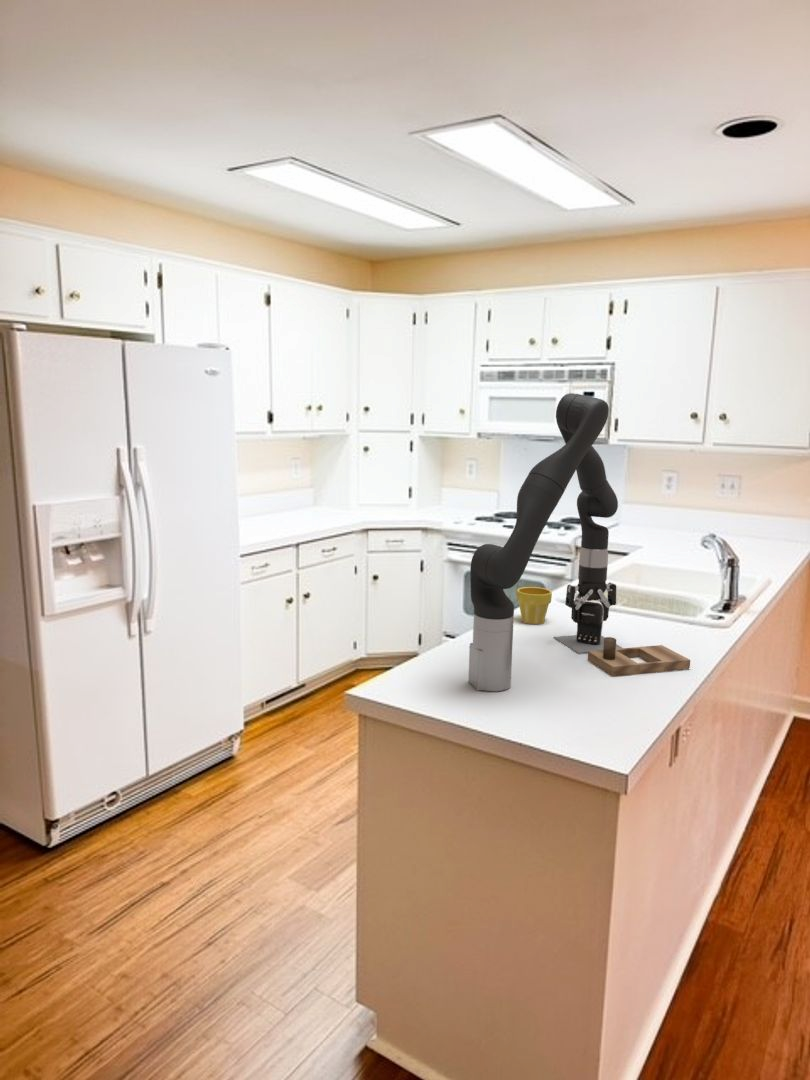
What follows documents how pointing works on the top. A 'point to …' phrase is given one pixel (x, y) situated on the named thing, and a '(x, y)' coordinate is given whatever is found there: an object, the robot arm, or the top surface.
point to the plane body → (621, 664)
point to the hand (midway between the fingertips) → (589, 621)
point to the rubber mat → (581, 644)
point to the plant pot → (533, 604)
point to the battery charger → (590, 623)
